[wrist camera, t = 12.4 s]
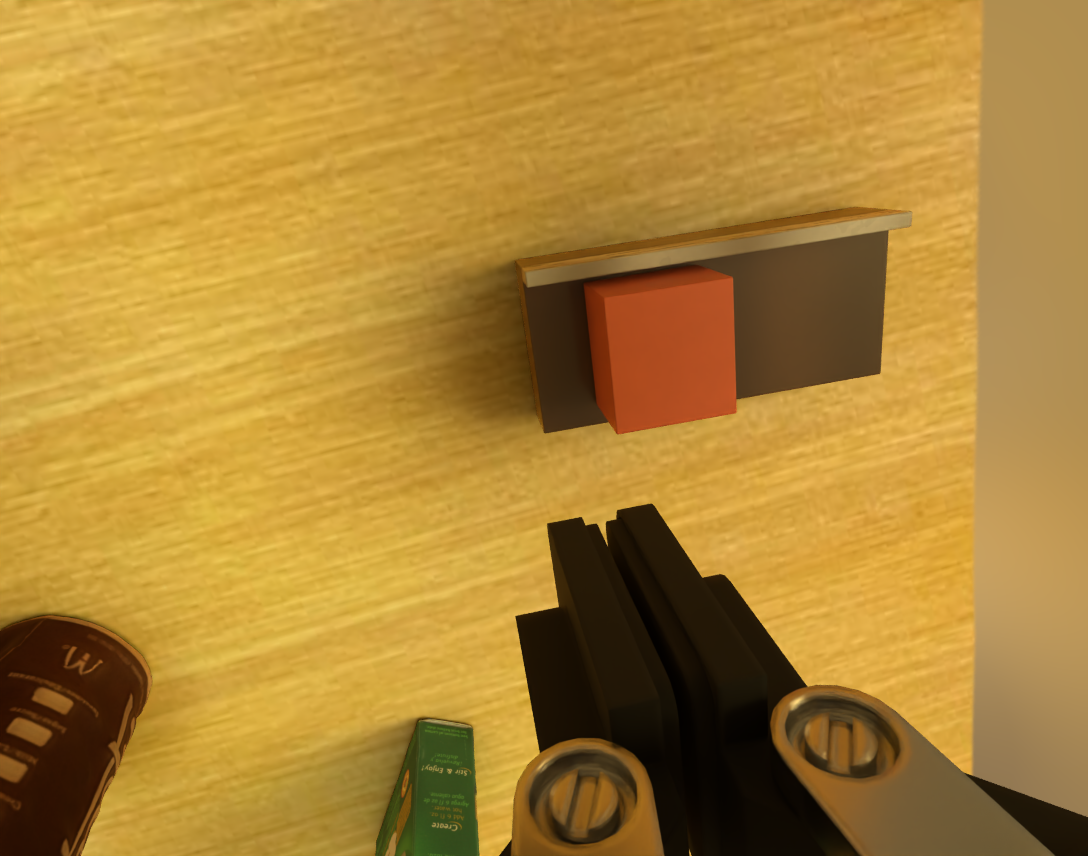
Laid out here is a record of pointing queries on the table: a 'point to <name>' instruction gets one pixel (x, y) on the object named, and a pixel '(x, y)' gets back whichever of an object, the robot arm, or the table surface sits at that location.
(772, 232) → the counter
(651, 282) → the red cube block
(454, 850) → the coffee box
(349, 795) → the table surface
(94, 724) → the coffee cup
